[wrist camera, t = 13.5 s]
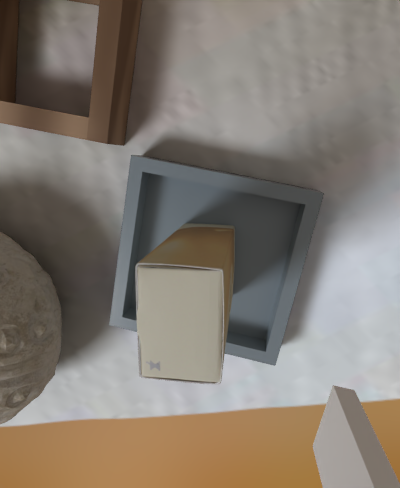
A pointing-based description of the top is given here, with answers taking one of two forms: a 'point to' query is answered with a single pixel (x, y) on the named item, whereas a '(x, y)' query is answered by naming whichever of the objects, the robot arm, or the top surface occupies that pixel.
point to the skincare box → (186, 304)
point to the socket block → (103, 83)
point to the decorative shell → (25, 328)
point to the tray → (246, 243)
